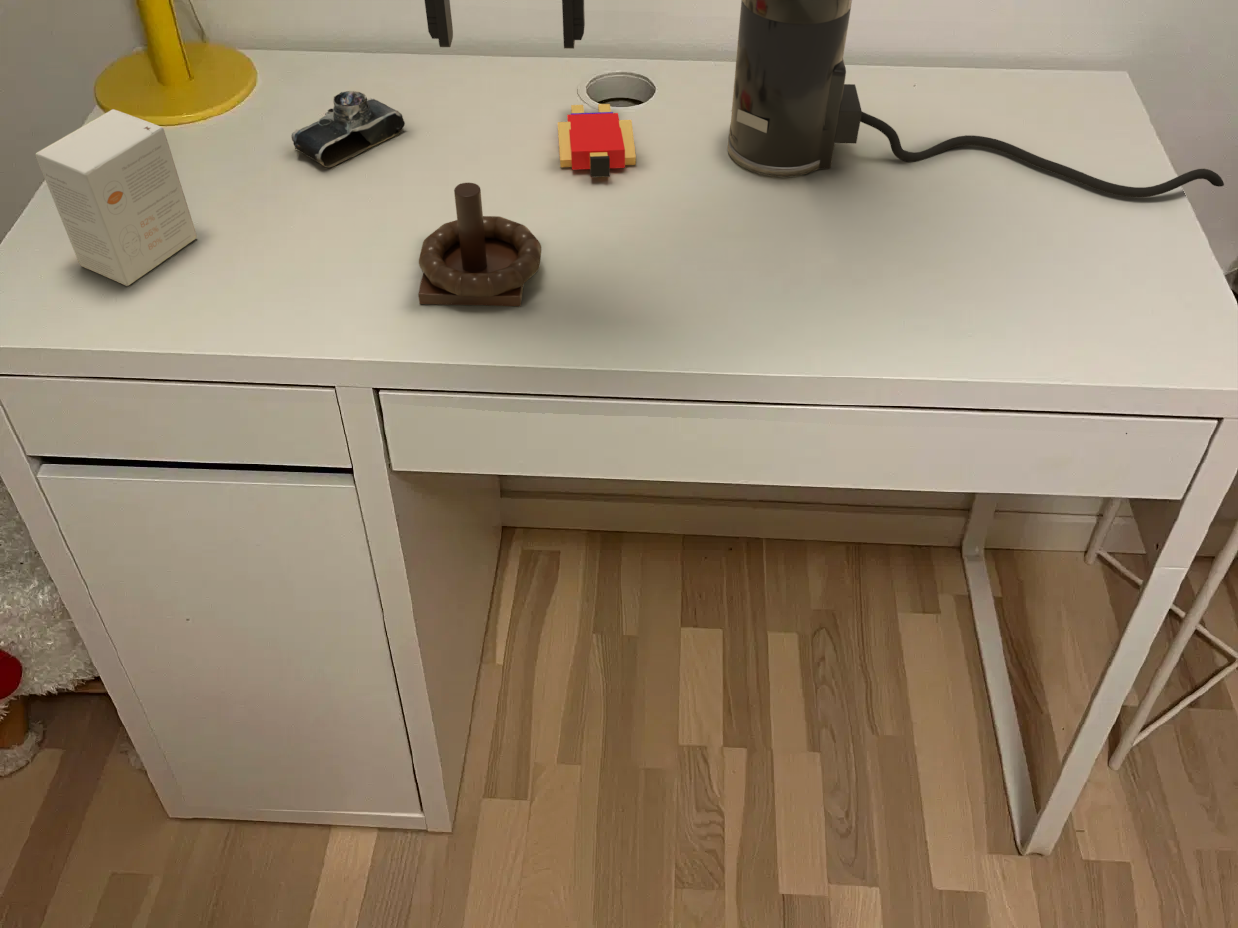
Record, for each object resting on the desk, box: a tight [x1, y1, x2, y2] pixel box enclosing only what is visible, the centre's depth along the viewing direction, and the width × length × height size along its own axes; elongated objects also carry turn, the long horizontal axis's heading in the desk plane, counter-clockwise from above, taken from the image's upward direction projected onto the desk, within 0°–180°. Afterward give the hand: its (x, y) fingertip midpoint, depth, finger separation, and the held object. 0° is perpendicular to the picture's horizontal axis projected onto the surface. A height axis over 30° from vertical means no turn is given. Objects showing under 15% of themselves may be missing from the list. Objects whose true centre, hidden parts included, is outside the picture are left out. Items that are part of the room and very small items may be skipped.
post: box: [417, 182, 525, 307], centre depth 90 cm, size 8×8×8 cm
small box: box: [35, 108, 198, 287], centre depth 91 cm, size 8×6×10 cm
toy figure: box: [557, 103, 637, 178], centre depth 106 cm, size 2×7×12 cm
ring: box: [418, 215, 542, 297], centre depth 92 cm, size 10×10×2 cm
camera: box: [290, 90, 406, 168], centre depth 106 cm, size 5×10×4 cm, turn 137°
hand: (508, 43), depth 80 cm, fingers open, 8 cm apart
